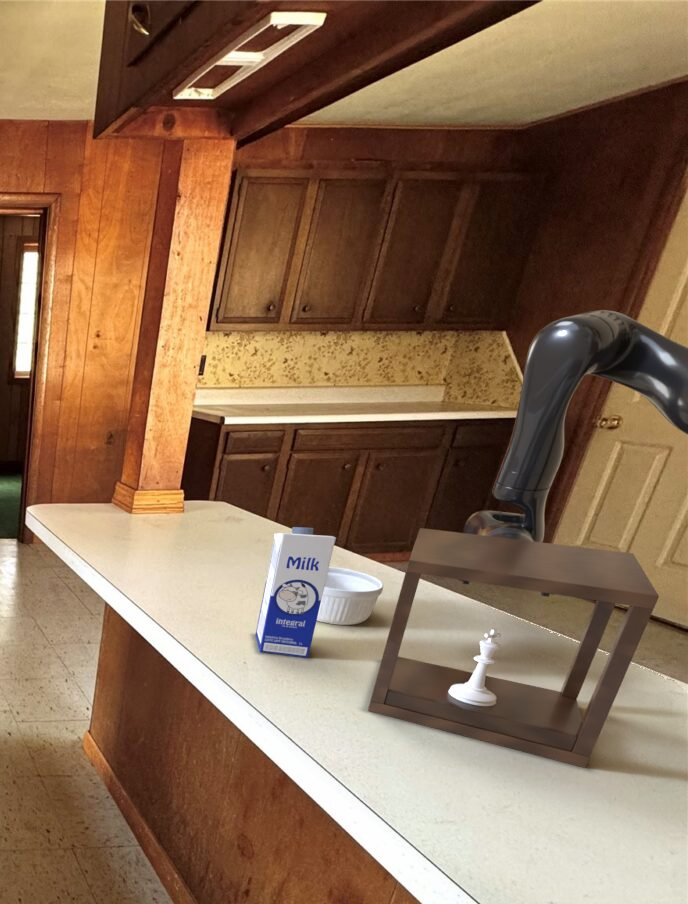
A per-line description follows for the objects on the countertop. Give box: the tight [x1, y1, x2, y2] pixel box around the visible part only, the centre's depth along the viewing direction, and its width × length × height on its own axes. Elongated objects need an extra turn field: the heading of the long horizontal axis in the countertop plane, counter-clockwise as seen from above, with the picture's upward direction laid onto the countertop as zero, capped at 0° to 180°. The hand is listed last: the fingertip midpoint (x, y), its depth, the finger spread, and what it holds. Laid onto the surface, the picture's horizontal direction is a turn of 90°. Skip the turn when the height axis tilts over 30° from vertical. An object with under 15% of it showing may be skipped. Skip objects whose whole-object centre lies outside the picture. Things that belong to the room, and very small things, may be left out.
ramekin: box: [316, 566, 384, 626], centre depth 119 cm, size 13×13×7 cm
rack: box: [367, 527, 660, 768], centre depth 85 cm, size 21×18×22 cm
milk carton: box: [255, 526, 337, 659], centre depth 104 cm, size 7×7×20 cm
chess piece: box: [448, 628, 502, 706], centre depth 87 cm, size 5×5×10 cm
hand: (506, 583), depth 93 cm, fingers open, 8 cm apart
